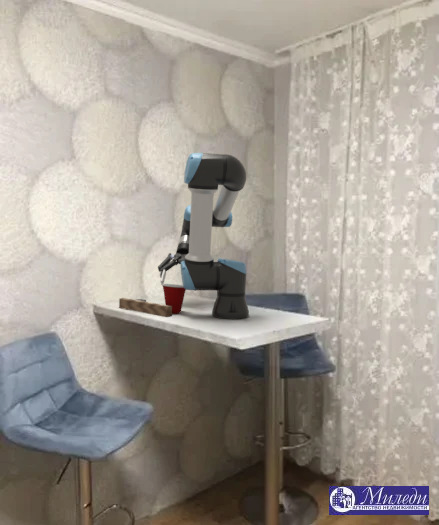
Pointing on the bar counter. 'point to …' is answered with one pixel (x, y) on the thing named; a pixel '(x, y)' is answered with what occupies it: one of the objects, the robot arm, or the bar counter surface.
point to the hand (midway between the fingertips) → (177, 283)
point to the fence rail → (145, 307)
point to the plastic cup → (174, 296)
